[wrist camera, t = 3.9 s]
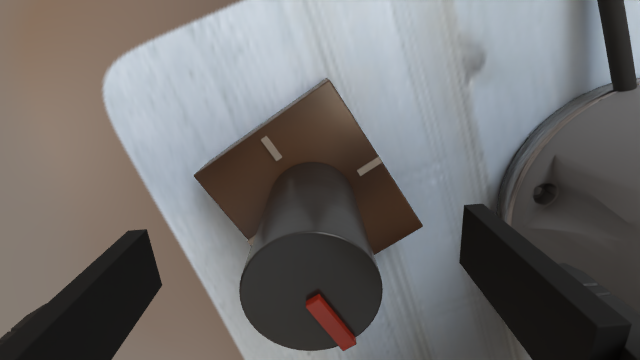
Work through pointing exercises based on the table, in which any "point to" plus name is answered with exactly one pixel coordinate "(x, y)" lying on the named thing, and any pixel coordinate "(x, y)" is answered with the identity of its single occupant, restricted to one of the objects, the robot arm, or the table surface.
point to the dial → (311, 263)
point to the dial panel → (308, 146)
